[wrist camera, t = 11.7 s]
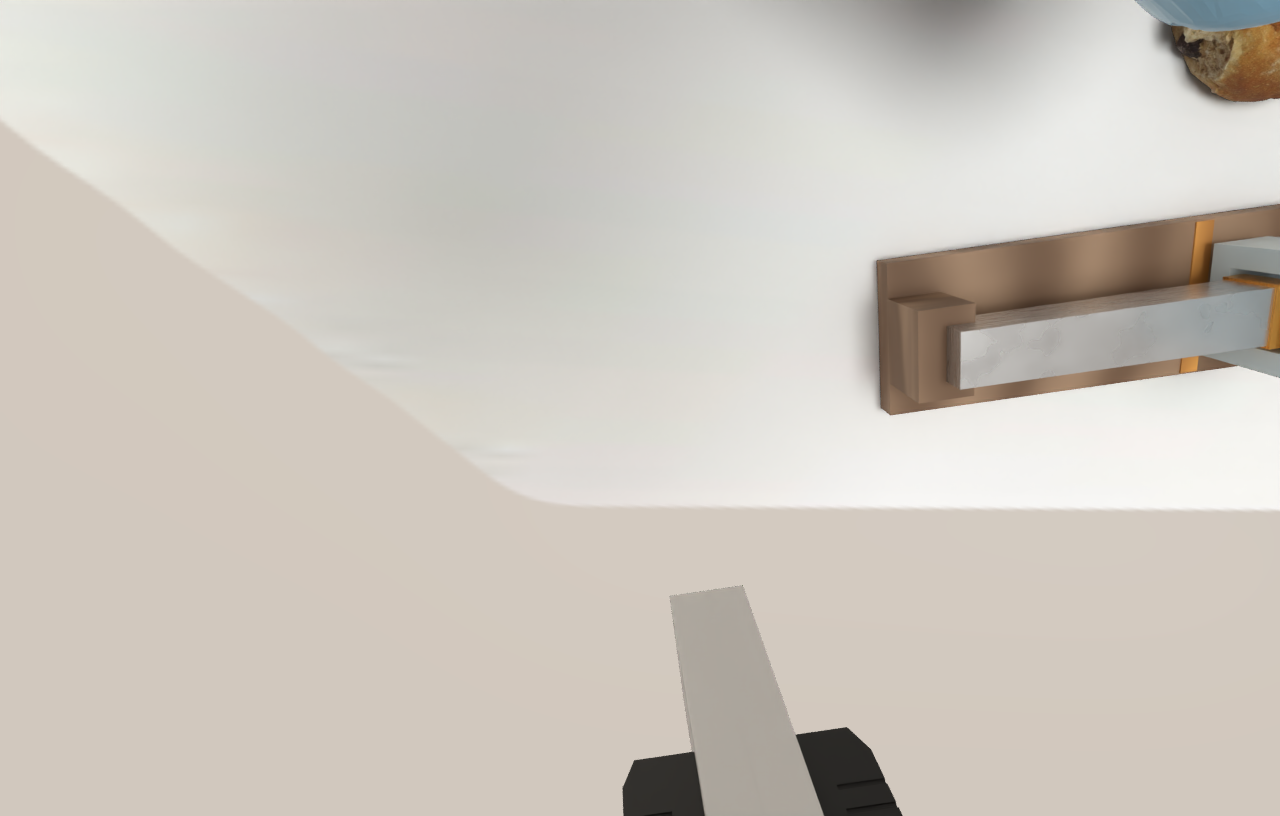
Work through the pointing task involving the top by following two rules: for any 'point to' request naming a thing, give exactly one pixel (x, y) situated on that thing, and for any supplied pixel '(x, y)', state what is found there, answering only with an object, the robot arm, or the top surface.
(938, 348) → the base board
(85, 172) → the top surface
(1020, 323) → the grey square bar
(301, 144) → the top surface
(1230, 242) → the slotted grey-blue plate
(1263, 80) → the bread roll
